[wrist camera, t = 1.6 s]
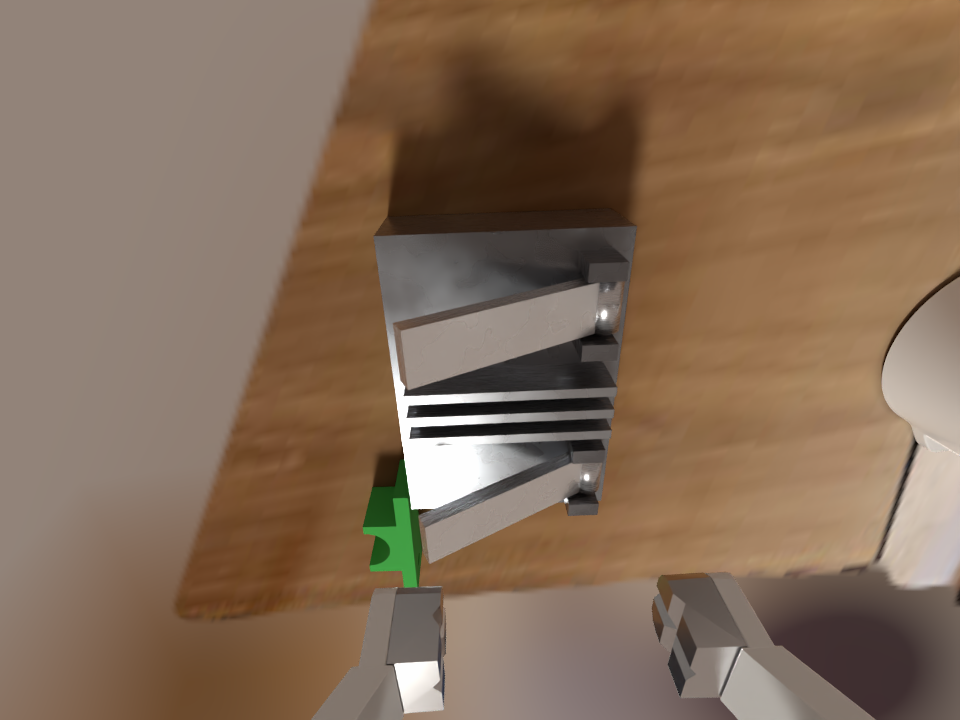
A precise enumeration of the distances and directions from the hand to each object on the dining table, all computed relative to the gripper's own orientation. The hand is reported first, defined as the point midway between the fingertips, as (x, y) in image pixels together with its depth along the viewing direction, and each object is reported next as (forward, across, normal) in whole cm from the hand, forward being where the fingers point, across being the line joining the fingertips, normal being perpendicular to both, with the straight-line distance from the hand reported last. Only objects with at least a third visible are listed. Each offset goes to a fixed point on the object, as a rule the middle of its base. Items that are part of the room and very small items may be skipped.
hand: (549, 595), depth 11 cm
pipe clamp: (+24, +9, +21) cm, 33 cm away
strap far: (+15, -1, +12) cm, 20 cm away
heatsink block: (+23, 0, +6) cm, 24 cm away
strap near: (+15, -1, 0) cm, 15 cm away
